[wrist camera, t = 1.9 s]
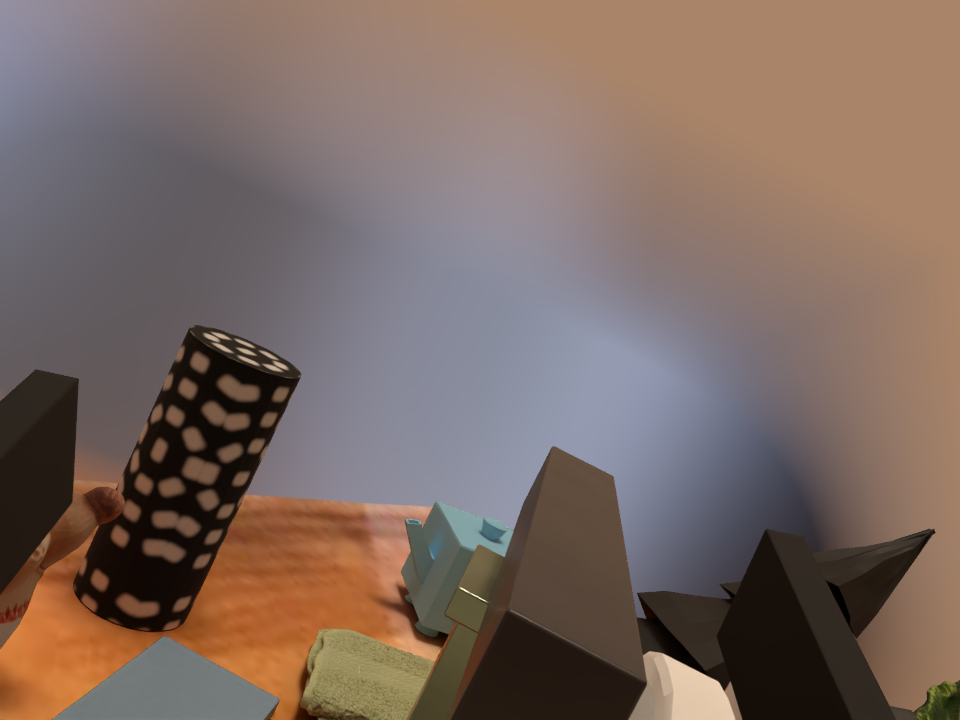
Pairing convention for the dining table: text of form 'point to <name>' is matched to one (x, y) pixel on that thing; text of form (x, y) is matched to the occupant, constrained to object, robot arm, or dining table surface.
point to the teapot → (445, 560)
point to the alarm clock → (679, 693)
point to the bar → (559, 610)
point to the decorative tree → (696, 620)
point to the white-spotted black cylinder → (186, 480)
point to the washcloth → (361, 678)
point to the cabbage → (941, 703)
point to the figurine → (57, 550)
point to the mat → (172, 690)
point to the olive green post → (458, 636)
